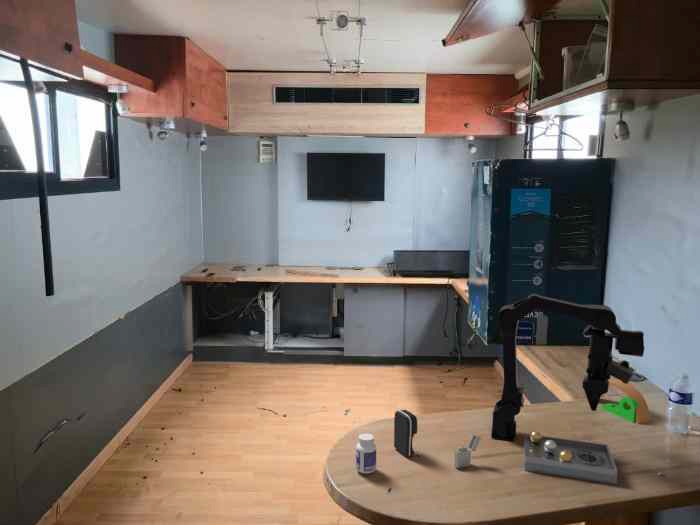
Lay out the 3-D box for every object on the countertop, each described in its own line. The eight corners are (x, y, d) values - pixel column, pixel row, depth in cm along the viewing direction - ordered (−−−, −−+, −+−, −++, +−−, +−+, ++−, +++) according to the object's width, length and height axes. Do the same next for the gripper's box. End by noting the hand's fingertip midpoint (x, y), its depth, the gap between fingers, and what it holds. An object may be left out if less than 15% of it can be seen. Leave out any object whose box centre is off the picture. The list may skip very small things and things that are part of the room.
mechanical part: (645, 421, 172) (647, 397, 171) (633, 424, 169) (635, 400, 168) (612, 407, 183) (614, 385, 182) (600, 410, 180) (602, 388, 179)
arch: (597, 399, 189) (600, 372, 187) (649, 421, 171) (652, 391, 169) (586, 401, 186) (588, 374, 185) (637, 424, 168) (640, 393, 167)
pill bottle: (378, 466, 141) (379, 434, 140) (371, 475, 136) (372, 443, 135) (360, 462, 143) (361, 430, 142) (352, 471, 138) (353, 438, 137)
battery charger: (418, 454, 147) (419, 415, 146) (407, 457, 145) (408, 418, 144) (403, 444, 153) (404, 406, 152) (392, 447, 152) (393, 409, 150)
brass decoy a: (529, 444, 149) (530, 432, 149) (529, 438, 152) (529, 427, 152) (542, 446, 148) (542, 434, 148) (541, 440, 151) (542, 429, 151)
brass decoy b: (558, 465, 138) (559, 452, 137) (557, 459, 141) (558, 447, 141) (572, 467, 137) (573, 454, 136) (571, 461, 140) (572, 448, 140)
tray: (524, 470, 140) (525, 457, 139) (523, 445, 154) (524, 433, 153) (616, 485, 133) (617, 471, 133) (606, 457, 148) (607, 444, 147)
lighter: (457, 468, 140) (458, 439, 139) (453, 465, 142) (455, 436, 141) (479, 463, 143) (481, 435, 142) (476, 460, 145) (477, 432, 144)
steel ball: (543, 454, 143) (544, 442, 143) (542, 448, 147) (543, 436, 146) (556, 456, 142) (557, 444, 142) (555, 450, 146) (556, 438, 145)
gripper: (632, 365, 135) (626, 423, 137) (633, 348, 152) (627, 400, 154) (585, 358, 141) (579, 414, 143) (591, 341, 157) (586, 392, 159)
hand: (594, 404), depth 149 cm, fingers open, 9 cm apart
